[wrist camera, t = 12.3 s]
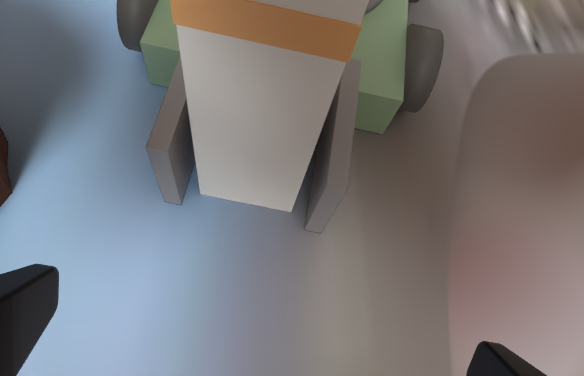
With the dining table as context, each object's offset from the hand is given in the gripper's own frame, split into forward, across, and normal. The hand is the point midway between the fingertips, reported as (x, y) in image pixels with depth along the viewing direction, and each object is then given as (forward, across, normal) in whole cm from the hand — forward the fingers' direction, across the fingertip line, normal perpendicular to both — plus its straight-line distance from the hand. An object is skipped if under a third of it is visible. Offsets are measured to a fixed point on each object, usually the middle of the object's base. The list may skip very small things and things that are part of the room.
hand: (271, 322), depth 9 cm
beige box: (+13, +2, 0) cm, 13 cm away
